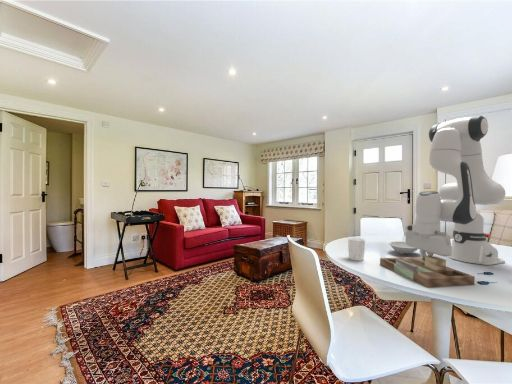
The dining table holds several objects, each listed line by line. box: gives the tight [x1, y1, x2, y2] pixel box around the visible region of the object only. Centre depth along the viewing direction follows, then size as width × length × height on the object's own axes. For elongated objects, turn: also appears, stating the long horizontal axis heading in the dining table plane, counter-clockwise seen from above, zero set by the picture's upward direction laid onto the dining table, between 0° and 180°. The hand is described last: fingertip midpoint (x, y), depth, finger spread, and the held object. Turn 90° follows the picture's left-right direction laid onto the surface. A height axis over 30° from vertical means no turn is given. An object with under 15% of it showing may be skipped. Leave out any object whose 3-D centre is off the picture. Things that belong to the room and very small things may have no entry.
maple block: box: [425, 255, 447, 270], centre depth 101 cm, size 5×5×4 cm
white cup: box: [347, 236, 366, 262], centre depth 123 cm, size 8×8×10 cm
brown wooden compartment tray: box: [379, 256, 476, 288], centre depth 103 cm, size 20×26×6 cm
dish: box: [388, 240, 418, 255], centre depth 134 cm, size 18×14×5 cm
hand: (426, 261), depth 106 cm, fingers closed
